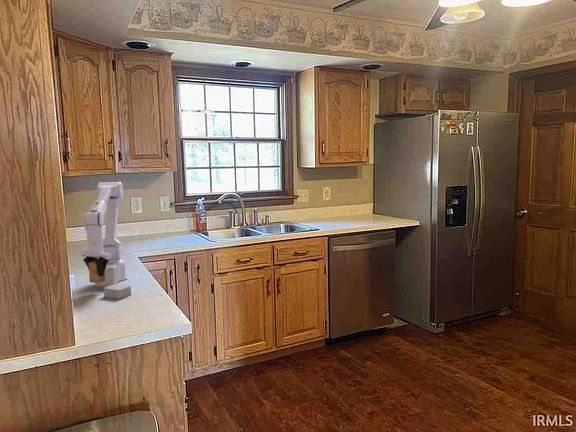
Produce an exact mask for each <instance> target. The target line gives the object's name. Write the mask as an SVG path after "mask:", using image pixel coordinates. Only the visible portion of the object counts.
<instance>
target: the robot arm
mask: <svg viewBox="0 0 576 432" xmlns="http://www.w3.org/2000/svg"><path fill="white" fill-rule="evenodd" d="M96 190H97V194H98V196H97V198H96V199H97V200H95V201H93V203H92V205H91V206H90V209H89V210H88V212H86V213H84V214H83V218H82V219H83V220H82V222H83V225H84V231H85V232H86V241H87V242H86V243H87V244H86V245H87V250H84V251H83V250H82V251H80V256H81V257H84V258H83V259H82V261H83V262H84V264H85V266H87V270H89V262H93V261H95V263H96V265H97V269H98V275H99V276H103V275H104V273H105V268H106V265H117V277H118V282H121V281H124V280H128V277H127V276H126V264H125V262H124V260H123V256H124V249H123V244H122V242H121V241H119V240H118V239H117V234H118V233H117V232H118V231H117V230H118V216H119V205H120V203H122V202H123V200H124V186H123V183H122V182H121V181H115V182H114V181H110V182H106V181H105V182H102V181H99V182H98V183H97V186H96ZM105 215H106V216H105ZM104 222H105V227H104V228H105V229H104V235H103V226H104ZM103 236H104V237H103Z"/></svg>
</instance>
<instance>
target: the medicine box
mask: <svg viewBox="0 0 576 432" xmlns="http://www.w3.org/2000/svg"><path fill="white" fill-rule="evenodd" d="M114 284H119V281H118V277H117V265H106V268H105V281H103V282H100V283H95V288H105V287H108V286H111V285H114Z"/></svg>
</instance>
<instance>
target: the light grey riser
mask: <svg viewBox="0 0 576 432" xmlns="http://www.w3.org/2000/svg"><path fill="white" fill-rule="evenodd" d="M131 295H132V289H131V285H127V284H126V285H125V284H119V283H118V284H114V285H111V286H108V287H103V297H105V298H110V299H117V300H121V299H124V298H126V297H128V296H131Z"/></svg>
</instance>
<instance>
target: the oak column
mask: <svg viewBox="0 0 576 432" xmlns="http://www.w3.org/2000/svg"><path fill="white" fill-rule="evenodd" d="M88 275H89V282H90V283H93V284H96V283H100V282H103V281H105V273H104V275H103V276H99V275H98V269H97V265H96V263H95V261H93V262H89V269H88Z"/></svg>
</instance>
